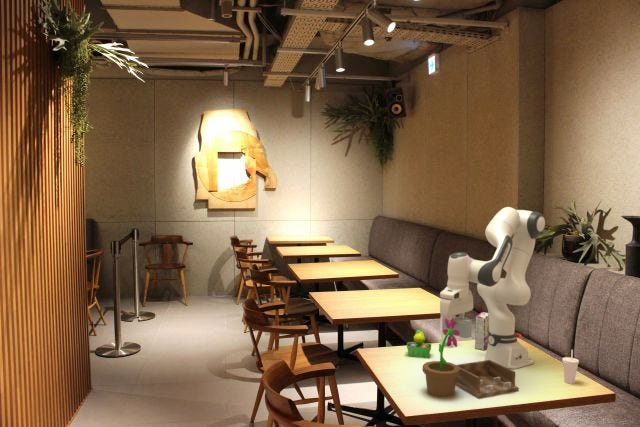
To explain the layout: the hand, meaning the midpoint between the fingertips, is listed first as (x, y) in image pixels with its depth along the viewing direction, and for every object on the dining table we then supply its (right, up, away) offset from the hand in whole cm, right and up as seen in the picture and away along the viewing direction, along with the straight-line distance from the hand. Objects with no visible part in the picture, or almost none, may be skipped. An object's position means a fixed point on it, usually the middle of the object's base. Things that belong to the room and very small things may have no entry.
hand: (456, 324), depth 233 cm
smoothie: (+47, -24, -2) cm, 52 cm away
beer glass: (+6, -20, +46) cm, 50 cm away
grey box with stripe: (0, -4, 0) cm, 4 cm away
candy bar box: (+24, -21, +45) cm, 55 cm away
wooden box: (+9, -24, -9) cm, 27 cm away
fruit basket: (-10, -21, +31) cm, 39 cm away
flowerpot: (-10, -24, -15) cm, 30 cm away
